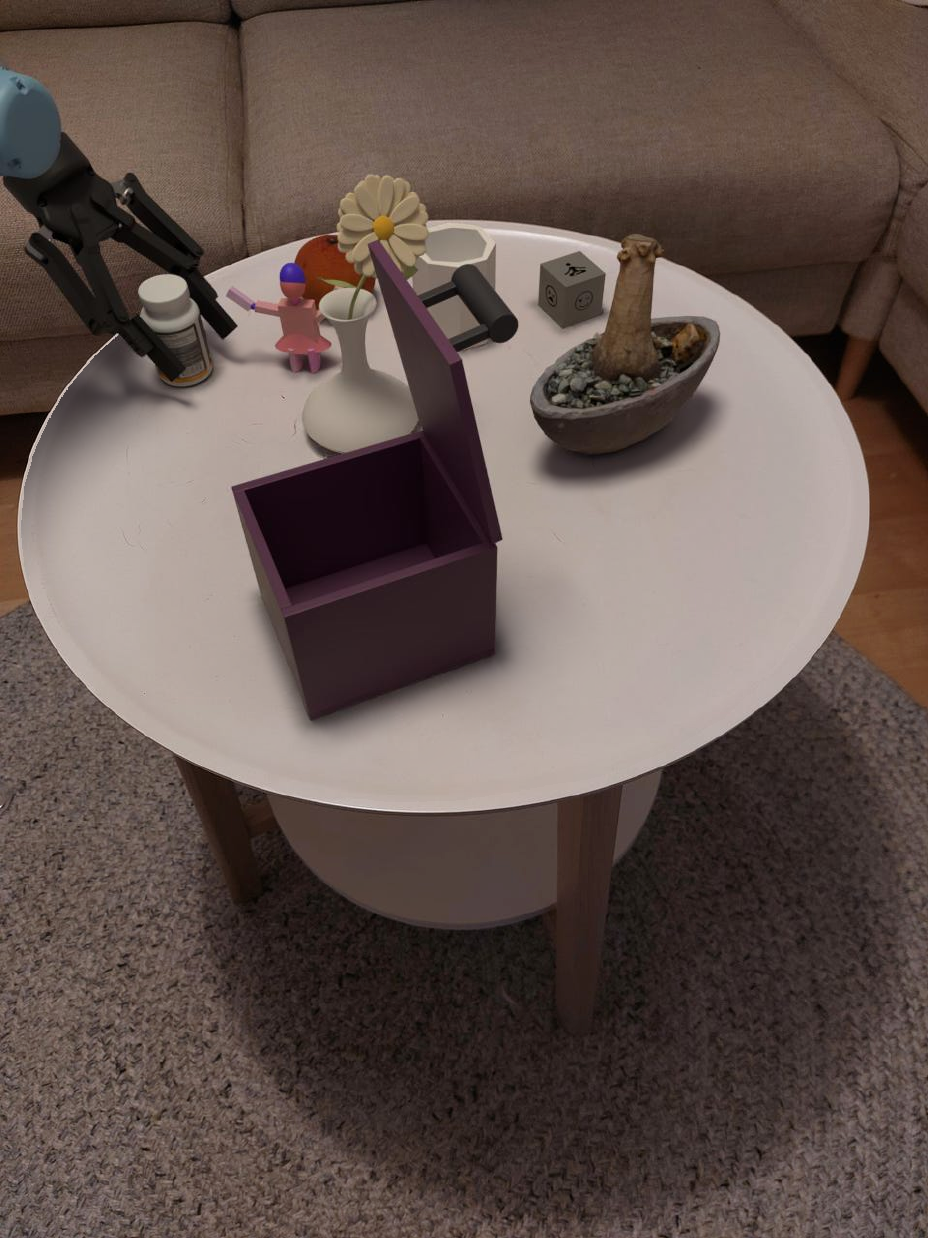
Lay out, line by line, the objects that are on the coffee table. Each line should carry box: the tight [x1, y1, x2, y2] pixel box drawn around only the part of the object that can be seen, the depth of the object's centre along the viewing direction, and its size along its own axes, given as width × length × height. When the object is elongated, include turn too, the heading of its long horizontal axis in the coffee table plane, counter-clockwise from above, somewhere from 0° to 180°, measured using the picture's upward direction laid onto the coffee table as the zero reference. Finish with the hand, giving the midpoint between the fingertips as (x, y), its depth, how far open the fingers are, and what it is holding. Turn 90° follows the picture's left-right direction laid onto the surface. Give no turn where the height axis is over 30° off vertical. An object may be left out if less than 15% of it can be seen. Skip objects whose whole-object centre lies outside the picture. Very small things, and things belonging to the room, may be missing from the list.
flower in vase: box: [301, 173, 429, 454], centre depth 86 cm, size 13×11×25 cm
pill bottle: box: [137, 273, 214, 387], centre depth 98 cm, size 6×6×10 cm
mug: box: [411, 221, 497, 352], centre depth 103 cm, size 12×9×10 cm
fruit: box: [293, 234, 377, 311], centre depth 106 cm, size 9×9×8 cm
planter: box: [529, 233, 721, 455], centre depth 87 cm, size 15×17×20 cm
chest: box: [230, 429, 498, 721], centre depth 76 cm, size 16×14×13 cm
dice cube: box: [537, 250, 607, 329], centre depth 105 cm, size 5×5×5 cm
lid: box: [368, 240, 519, 544], centre depth 66 cm, size 16×14×6 cm
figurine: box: [225, 262, 344, 374], centre depth 98 cm, size 3×12×11 cm, turn 87°
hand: (204, 353), depth 98 cm, fingers open, 7 cm apart
